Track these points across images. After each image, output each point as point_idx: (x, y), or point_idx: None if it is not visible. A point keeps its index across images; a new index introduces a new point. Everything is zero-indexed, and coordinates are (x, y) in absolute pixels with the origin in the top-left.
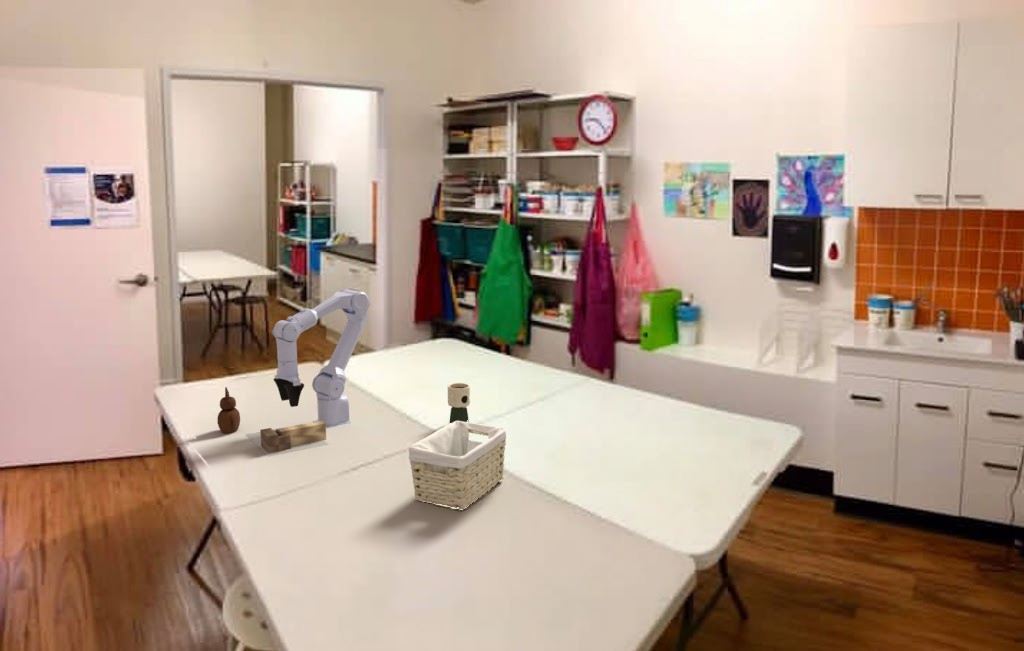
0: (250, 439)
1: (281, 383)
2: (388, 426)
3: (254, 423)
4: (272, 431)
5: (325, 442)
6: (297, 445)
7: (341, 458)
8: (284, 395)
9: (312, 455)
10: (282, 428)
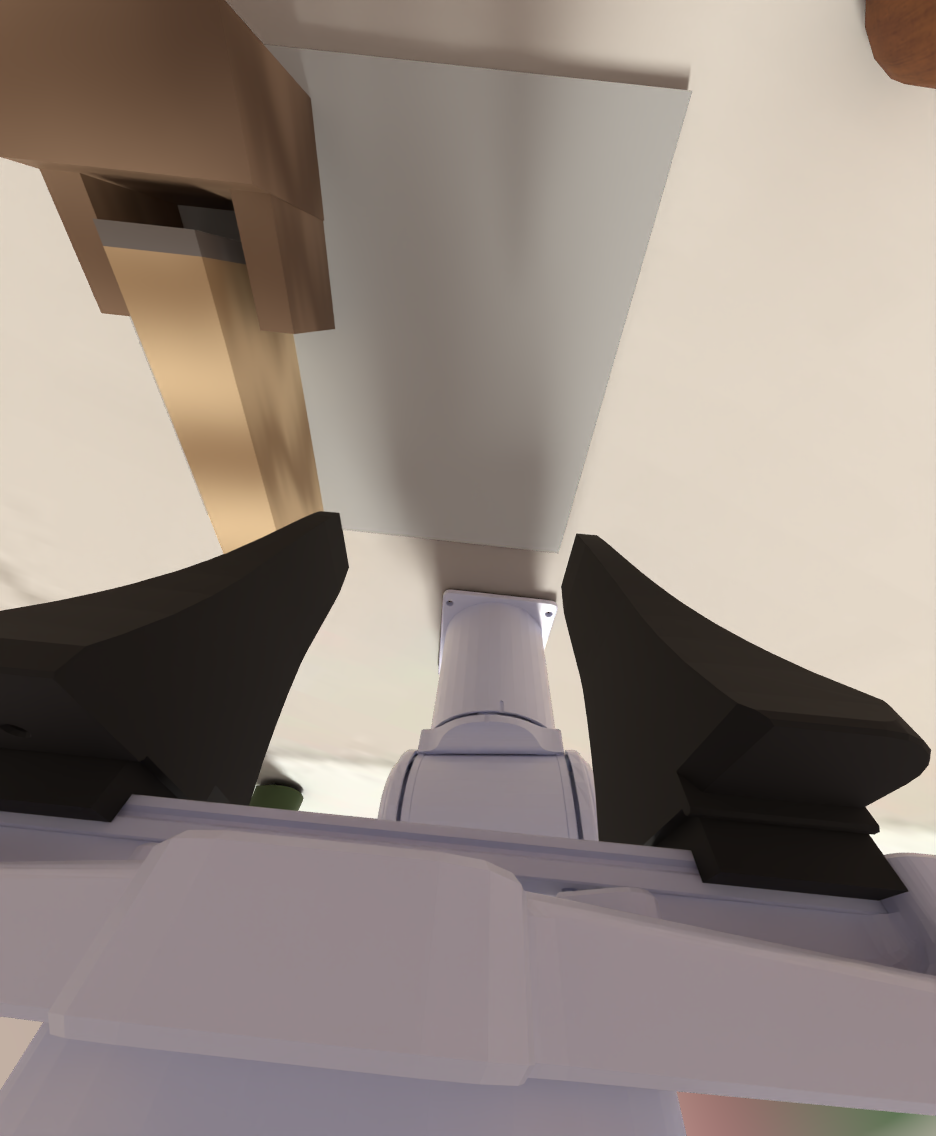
0: (528, 73)
1: (646, 705)
2: (347, 716)
3: (861, 341)
4: (117, 141)
5: None
6: None
7: (16, 477)
8: (582, 588)
9: (68, 381)
10: (198, 299)
